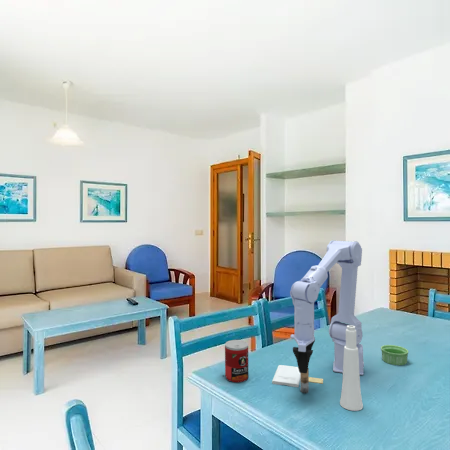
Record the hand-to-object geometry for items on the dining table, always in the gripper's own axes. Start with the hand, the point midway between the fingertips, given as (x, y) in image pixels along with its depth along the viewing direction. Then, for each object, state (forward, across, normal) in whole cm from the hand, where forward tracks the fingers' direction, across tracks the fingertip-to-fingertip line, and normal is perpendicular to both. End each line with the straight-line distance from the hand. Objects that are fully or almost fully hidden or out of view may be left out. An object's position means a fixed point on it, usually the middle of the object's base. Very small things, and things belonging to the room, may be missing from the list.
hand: (304, 367), depth 103 cm
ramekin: (+8, -32, +29) cm, 44 cm away
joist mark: (+7, -8, +3) cm, 11 cm away
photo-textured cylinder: (+7, 0, 0) cm, 7 cm away
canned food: (+8, -3, -22) cm, 23 cm away
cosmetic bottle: (+8, +4, +13) cm, 16 cm away
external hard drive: (+8, -8, -6) cm, 13 cm away
